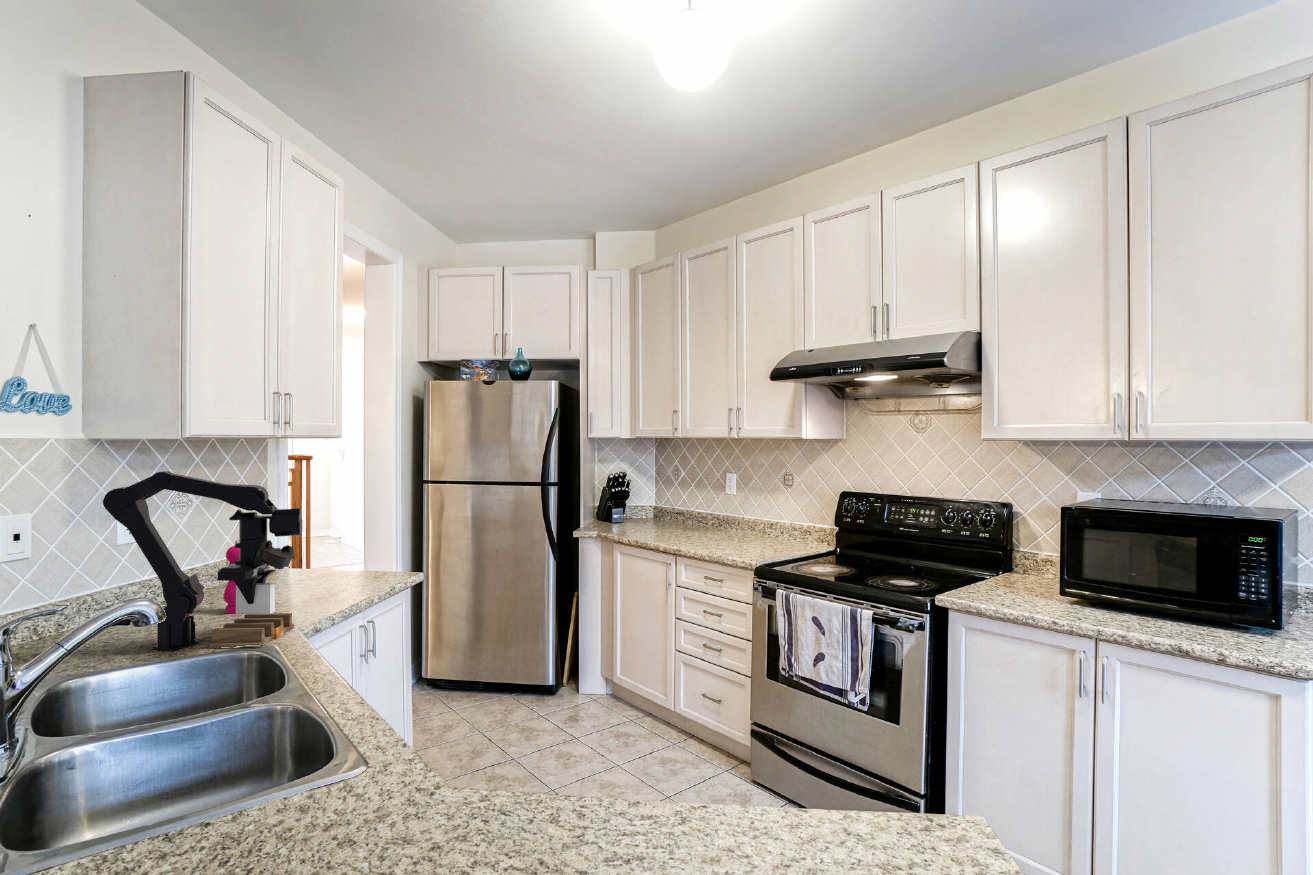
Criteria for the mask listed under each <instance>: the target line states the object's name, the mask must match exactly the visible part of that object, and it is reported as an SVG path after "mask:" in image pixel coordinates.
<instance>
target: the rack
mask: <svg viewBox="0 0 1313 875" xmlns="http://www.w3.org/2000/svg"><path fill="white" fill-rule="evenodd" d="M233 621H234V622H233V623H232V622H230V623H225V624H223V628H222V627H220V628H218V627H217V628H213V629H212V634H211V635H212V643H210V644H209V650H216V649H215V648H221V647H236V646H246V645H262V644H264V643H267V642H268V643H270V642H272V641H273V639H274V640H278V639H279V638H281V637H283V636H284V634H286V633H288V632H289V631H291V630H293V629H294V628H295V623H293V613H292V612H285V613H283V612H281V613H280V612H277V613H275V612H273V613H271V614H243V618H235V619H234V620H233ZM269 641H270V642H269ZM268 643H267V644H268Z"/></svg>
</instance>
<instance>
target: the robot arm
mask: <svg viewBox="0 0 1313 875" xmlns="http://www.w3.org/2000/svg"><path fill="white" fill-rule="evenodd" d="M164 490H167V491H172V492H178V493H183V494H188V495H193V496H197V497H204V498H209V499H214V500H219V501H222V502H224V503H227V504H229V505H231V506H233V507H236V508H239V509H237V510H235V513H234V514H233V515H231V516H229V518H228V519H229V520H230V521H238V522H239V524H238V526H239V529H238V531H239V536H238V537H239V538H238V539H239V543H236V544H235V543H234V545H235V548H239V560H237V561H235V565H230V566H229V565H228V566H224V567H222V568H220V569H219V570H218V571H217V581H219V582H220V581H222V582H223V581H224V582H225V581H227V582H229V581H234V582H235V584H236V585H237V587H238V588H239V590H240V591H241V593H242V595H243V596H244V598H245V600H246V601H247V603H248V604H253V603H254V597H255V589H256V583H266V581H267V579H268V578H269V577H270V576H271V575H272V574H273V573H274V572H275V571H276V570H283V569H285V568H289V566H290V564H291V562H292V560H294V559H295V552H294V547H293V546H291V545H289V544H287V545H284V546H283V547H281V548H280V547H277V548H276V547H274V546H273V542H272V540H269V539H268V530H269V534H270V533H271V534H272V535H274V537H275V538H276V537H295V536H296V537H297V536H302V532H303V519H302V511H301V507H293V508H281V509H280V508H278V507H277V506H276V505H275V504H274V503H273V501H271V499H269V496H270V494H269V492H268V490H267V489H266V487H264V486H262V485H257V484H232V483H230V484H229V483H224V482H223V483H222V482H218V481H213V480H207V479H203V478H199V477H193V476H188V475H183V474H178V473H175V472H171V471H169V470H168V471H167V470H163V471H162V470H161V471H157V472H154V474H152V475H151V476H148V477H146V478H145V479H143V480H140V481H138V482H136V483H134V484H131V485H129V486H122V487H116V488H112V489H110V490H109V491H108V492H106V494H105V495H104V496H103V499H102V504H103V507H104V509H105V510H106V511H107V512H108V513H109V514H110V515H111V516H112V517H113V518H114V520H116V521H117V522H118V523H119V524H121V525H123V526H124V527H125V528H126V529H127V530H128V532H129V533H130V535H131V537H132V538H133V540H135V543H136V544H137V545H138V548H139V549H140V551H141V552H142V554H143V555H144V557H145V558H146V560H147V562H148V563H149V565H150V567H151V569H152V570H153V572H155V574H156V576H157V578H158V579H159V582H160V583H161V589H162V596H163V598H164V601H165V604H166V606H164V607H163V609H164V610H165V613H166V616H167V617H166V619H165V621H163V622H161V623H158V624H157V628H156V629H157V632H156V633H157V635H156V637H157V638H156V639H157V640H156V641H157V644H155V645H152V649H153V650H154V649H155V650H164V651H170V652H171V651H175V650H180V649H183V648H185V647H189V646H193V645H194V644H198V643H199V642H200V641H199V639H196V622H195V619H194V618H195V617H194V615H192V614H194V610H195V609H197V607H198V606H200V605H201V604H202V602H203V600H204V599H205V598H204V597H205V593H204V589H205V588H206V587H205V586H204V585H202V584H201V583H200V580H199V578H198V575H197V574H196V573H194V574H192V575H191V576H190V575H188V574H187V573H185V572H184V571H183V570H182V569H181V567H180V566H179V564H178V562H177V561H176V559H175V558H174V556H173V554H172V553H171V551H170V550H169V548H168V546H167V544H166V543H165V542H164V540H163V538H162V537H161V535H160V532H159V531H158V530H157V528H156V527H155V525H154V524H153V522H152V520H151V518H150V512H149V506H148V503H147V500H148V499H149V498H151V497H154V495H157V494H158V493H160V492H162V491H164ZM241 509H242V510H245V512H244V511H242V510H241ZM246 511H247V512H246ZM258 513H259V514H261V515H258ZM269 566H270V567H269ZM271 567H273V568H274V569H270V568H271Z"/></svg>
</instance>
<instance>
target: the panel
mask: <svg viewBox="0 0 1313 875" xmlns="http://www.w3.org/2000/svg"><path fill="white" fill-rule="evenodd" d="M275 589H276V582H265V583H256V589H255V597H254V603H253V604H248V603H247V601H246V600H245V598H244V596H243V595H242V593H241V591H240V590H239V588H238V587H237V585H236V614H235V615H246V614H271V613H275V610H276V608H275V607H276V604H275V603H276V597H275V596H276V594H275V593H276V590H275Z"/></svg>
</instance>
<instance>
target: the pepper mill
mask: <svg viewBox="0 0 1313 875" xmlns="http://www.w3.org/2000/svg"><path fill="white" fill-rule="evenodd" d="M236 543H239V538H238V539H235V541H234V545H232V546H230V547H229V548H227V550H226V553H225V558H226V560H227V561H228V564H227V565H228V566H230V565H235V561H237V560H239V548H235V544H236ZM227 582H228V583H227V585H226V587H225V588H224V592H223V596H222V597H223V601H224V602H225V603H226V604H227V605H226V606H225V613H226V614H229V615H230V614H233V615H237V614H236V584H235V582H234V581H227Z"/></svg>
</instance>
